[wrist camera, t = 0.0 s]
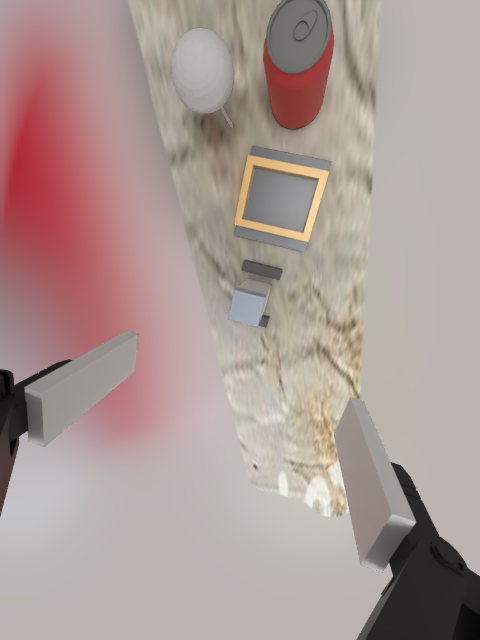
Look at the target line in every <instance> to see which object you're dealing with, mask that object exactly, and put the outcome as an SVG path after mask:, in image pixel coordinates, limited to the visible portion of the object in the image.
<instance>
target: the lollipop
mask: <svg viewBox="0 0 480 640" xmlns="http://www.w3.org/2000/svg"><path fill="white" fill-rule="evenodd" d="M171 67H172V77H173V83H174V86H175V89H176V92H177V94H178V96H179V98H180V99H181V101H182V102H183V103H184V105H185V106H186V107H187V108H189V109H190V110H192V111H194V112H197V113H203V114H210V113H213V112H216V111H217V110H219V109H220V110H221V111H222V113H223V115H224V117H225V118H226V120H227V122H228V124H229V125H230V127H231V128H232V127H233V124H232V122H231V120H230V118H229V116H228V114H227V112H226V111H225V109H224V107H223V106H224V104H225V103H226V102H227V100H228V99H229V97H230V95H231V92H232V88H233V83H234V67H233V60H232V56H231V53H230V51H229V49H228V46H227V45H226V43H225V41H224V40H223V38H222V37H221V36H220V35H219V34H218V33H216V32H215V31H213V30H211V29H205V28H194V29H192V30H189V31H188V32H186V33H185V34H184V35H183V36H182V37H181V38H180V39H179V41H178V42H177V44H176V46H175V48H174V52H173V56H172V65H171Z"/></svg>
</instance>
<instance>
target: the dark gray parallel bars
mask: <svg viewBox="0 0 480 640" xmlns="http://www.w3.org/2000/svg"><path fill="white" fill-rule="evenodd" d="M242 271H246V272H250V273H254V274H258V275H262V276H266V277H270V278H274V279H277V280H280V276H281V273H282V269H280V268H276V267H272V266H268V265H264V264H260V263H256V262H252V261H248V260H244V262H243V266H242ZM268 320H269V316H265V315H262V318H261V320H260V323H259V325H258V326H262V327H265V328H266V327H267V324H268Z"/></svg>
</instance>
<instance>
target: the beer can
mask: <svg viewBox="0 0 480 640" xmlns="http://www.w3.org/2000/svg"><path fill="white" fill-rule="evenodd" d="M333 46H334V35H333V28H332V22H331V17H330V11H329V9H328V7H327V5H326V3H325V1H324V0H283V1H282V2H281V3H280V4H279V5H278V6H277V7H276V9H275V11H274V13H273V14H272V16H271V18H270V21H269V25H268V28H267V35H266V39H265V43H264V54H263V61H264V67H265V73H266V79H267V85H268V90H269V96H270V102H271V107H272V112H273V115H274V117H275V118H276V120H277V121H278V122H279V123H280V124H281V125H282V126H284V127H287V128H289V129H298V128H301V127H303V126H306V125H307V124H308V123H310V122H311V121H312V120H313V119H314V118H315V116H316V115H317V114H318V112H319V110H320V107H321V105H322V102H323V98H324V93H325V88H326V83H327V78H328V74H329V69H330V64H331V59H332V54H333Z"/></svg>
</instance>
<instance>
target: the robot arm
mask: <svg viewBox="0 0 480 640" xmlns="http://www.w3.org/2000/svg"><path fill="white" fill-rule="evenodd" d="M137 345H138V333H135V332H131V331H128V330H127V331H125V332H123V333H122V334H120V335H118V336H116V337H114V338H113V339H111V340H109V341H107V342H105V343H104V344H102V345H100V346H98V347H96V348H94V349H93V350H91V351H89V352H87V353H85V354H84V355H82V356H80V357H78V358H76V359H75V360H70V359H69V360H65V361H61V362H58V363H56V364H54V365H52V366H50V367H48V368H47V369H44V370H42V371H40V372H39V373H37V374H35V375H33V376H31V377H29V378H27V379H25V380H23V381H21V382H19V383H18V384H16V385H14V378H13V373H12V372H10V371H8V370H3V369H0V516H1V512H2V508H3V504H4V500H5V496H6V492H7V489H8V484H9V481H10V477H11V473H12V469H13V466H14V462H15V458H16V454H17V450H18V446H19V436H21V435H22V434H23V433H25V432H26V431H28V441H29V442H32V443H34V444H37V445H40V446H42V447H45V446H46V445H48V444H49V443H50V442H51V441H52V440H54V439H55V438H56V437H57V436H58V435H60V433H62V432H63V431H64V430H65V429H67V428H68V427H69V426H70V425H71V424H73V423H74V422H75V421H76V420H77V419H79V418H80V417H81V416H82V415H83V414H85V413H86V412H87V411H88V410H89V409H91V408H92V407H93V406H94V405H95V404H96V403H98V402H99V401H100V400H101V399H102V398H104V397H105V396H106V395H107V394H108V393H110V392H111V391H112V390H113V389H114V388H115V387H117V386H118V385H119V384H120V383H122V382H123V381H124V380H125V379H126V378H128V377H129V376H130V375H131V374H132V373H134V372H135V366H136V355H137ZM334 437H335V442H336V447H337V452H338V457H339V462H340V467H341V471H342V476H343V481H344V486H345V491H346V496H347V501H348V506H349V511H350V515H351V520H352V525H353V530H354V535H355V540H356V545H357V549H358V554H359V559H360V564H361V565H363V566H366V567H368V568H371V569H374V570H376V571H379V572H383V571H384V569H385V568H386V566H387V565H388V563H390V566H391V570H392V573H393V577H392V579H391V580H390V582H389V583H388V585H387V586H386V587H385V589H384V590H383V592H382V593H381V595H382V596H381V598H380V599H379V601H378V603H377V605H376V606H375V608H374V610H373V612H372V613H371V615H370V617H369V619H368V620H367V622H366V624H365V626H364V627H363V629H362V631H361V633H360V634H359V636H358V638H357V640H480V576H479V575H477V574H476V573H474V572H472V571H471V570H470V569H468V567H467V565H466V563H465V561H464V560H463V558H462V557H461V555H460V554H459V553H458V552H457V551H456V550H455V549H454V548H453V547H452V546H451V545H450V544H449V543H448V542H447V541H445V540H444V539H443V538H441V537H440V536H439V534H438V532H437V531H436V528H435V526H434V524H433V522H432V520H431V518H430V516H429V514H428V512H427V510H426V508H425V506H424V504H423V502H422V501H421V498H420V495H419V493H418V491H416V487H415V485H414V483H413V481H412V479H411V477H410V476H409V475H408V473H407V472H406V471H405V470H404V469H403V467H402V466H401V465H398V464H395V463H392V462H390V460H389V458H388V455H387V453H386V451H385V448H384V446H383V444H382V441H381V439H380V437H379V435H378V432H377V430H376V427H375V425H374V423H373V421H372V418H371V416H370V414H369V411H368V409H367V407H366V404H365V402H364V401H362V400H359V399H356V398H352V397H350V399H349V401H348V404H347V406H346V408H345V410H344V413H343V415H342V417H341V420H340V422H339V424H338V426H337V429H336V431H335V433H334Z"/></svg>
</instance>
